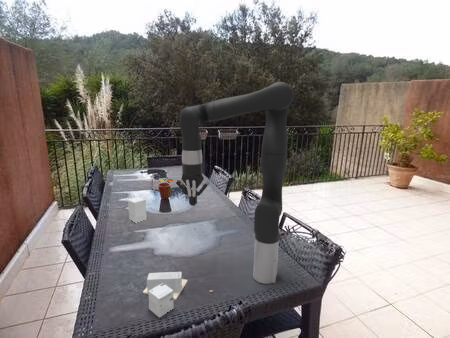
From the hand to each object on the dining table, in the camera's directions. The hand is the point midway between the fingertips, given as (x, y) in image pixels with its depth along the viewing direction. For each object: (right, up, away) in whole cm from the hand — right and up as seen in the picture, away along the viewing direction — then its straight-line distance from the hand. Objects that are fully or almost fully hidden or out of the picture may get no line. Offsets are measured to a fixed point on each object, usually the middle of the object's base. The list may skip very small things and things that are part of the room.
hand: (193, 204), depth 111 cm
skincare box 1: (-4, -28, -5) cm, 29 cm away
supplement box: (-38, -16, +54) cm, 67 cm away
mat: (-10, -31, -3) cm, 32 cm away
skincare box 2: (-9, -34, -13) cm, 38 cm away
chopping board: (-34, +2, +124) cm, 129 cm away
